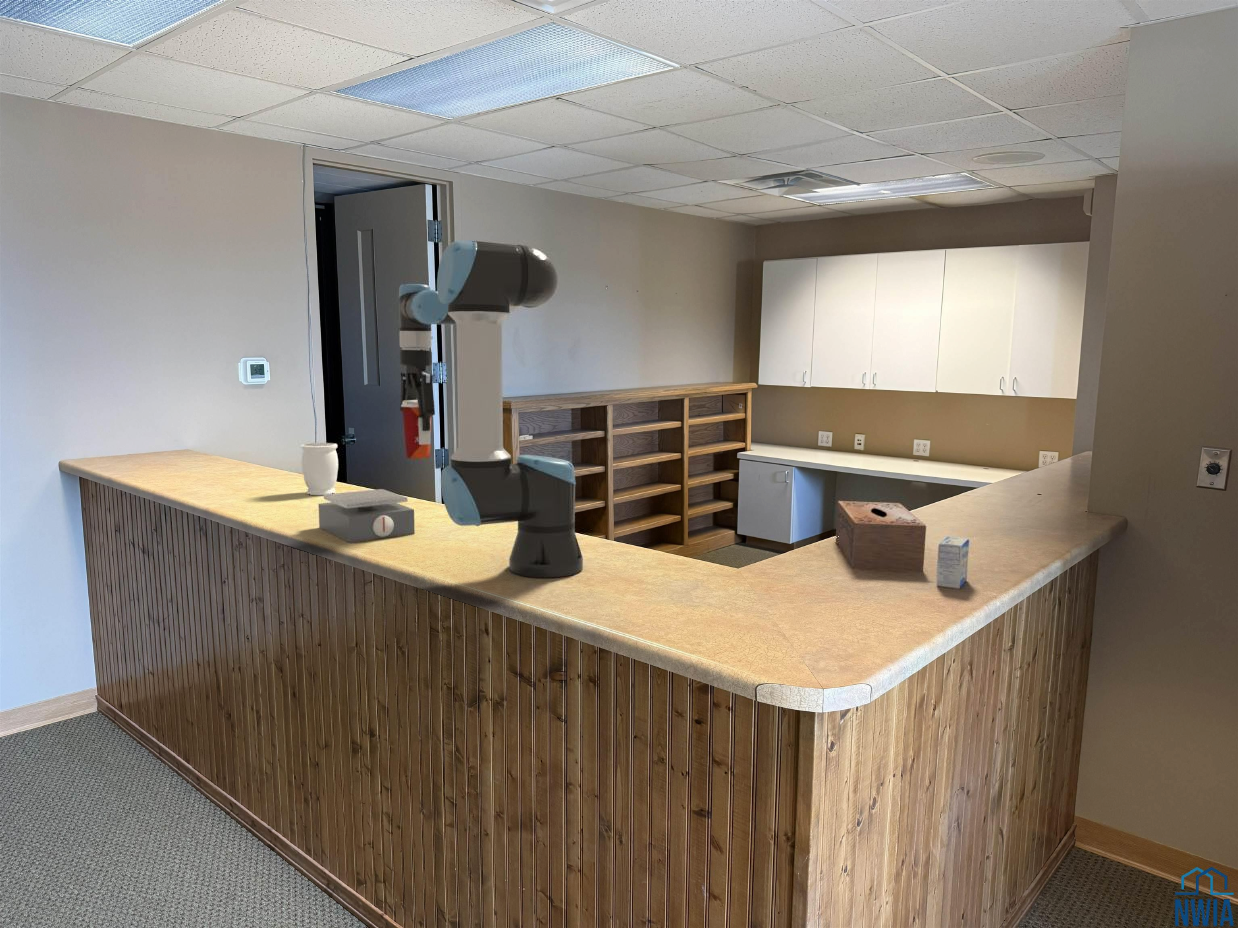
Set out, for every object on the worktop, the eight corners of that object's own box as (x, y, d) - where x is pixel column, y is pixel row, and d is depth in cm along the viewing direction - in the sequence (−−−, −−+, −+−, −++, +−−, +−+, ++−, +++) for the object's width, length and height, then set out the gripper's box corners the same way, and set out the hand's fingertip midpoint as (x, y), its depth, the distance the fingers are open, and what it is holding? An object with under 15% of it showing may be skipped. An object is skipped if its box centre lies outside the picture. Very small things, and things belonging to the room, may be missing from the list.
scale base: (415, 534, 202) (415, 509, 201) (351, 543, 192) (350, 517, 191) (380, 519, 218) (380, 497, 217) (319, 527, 208) (318, 503, 207)
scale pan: (407, 506, 203) (407, 497, 203) (346, 513, 194) (346, 504, 194) (382, 497, 215) (382, 488, 215) (324, 503, 206) (323, 494, 205)
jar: (331, 496, 250) (330, 446, 248) (297, 496, 250) (295, 446, 248) (343, 490, 260) (342, 442, 258) (310, 490, 260) (309, 442, 258)
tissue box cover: (923, 572, 175) (926, 525, 174) (852, 569, 177) (854, 523, 175) (897, 544, 201) (899, 503, 199) (835, 541, 202) (837, 500, 201)
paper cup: (425, 459, 203) (424, 402, 201) (396, 458, 205) (395, 401, 203) (439, 455, 211) (438, 400, 209) (411, 454, 212) (410, 399, 210)
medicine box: (959, 589, 162) (962, 546, 161) (935, 586, 164) (938, 543, 163) (966, 580, 169) (970, 538, 167) (943, 577, 171) (946, 535, 170)
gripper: (448, 350, 198) (450, 445, 201) (413, 348, 214) (414, 437, 217) (419, 349, 194) (420, 447, 197) (384, 348, 210) (387, 439, 213)
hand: (417, 442), depth 207 cm, fingers closed on paper cup, 8 cm apart
